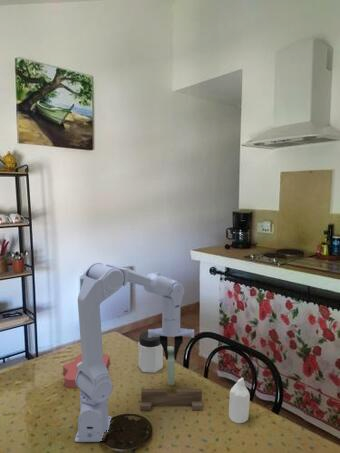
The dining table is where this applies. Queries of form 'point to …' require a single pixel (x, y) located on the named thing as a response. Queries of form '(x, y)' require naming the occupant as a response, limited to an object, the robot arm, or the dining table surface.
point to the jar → (149, 353)
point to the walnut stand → (171, 398)
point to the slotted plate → (171, 365)
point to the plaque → (72, 370)
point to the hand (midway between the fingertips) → (170, 358)
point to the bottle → (239, 402)
